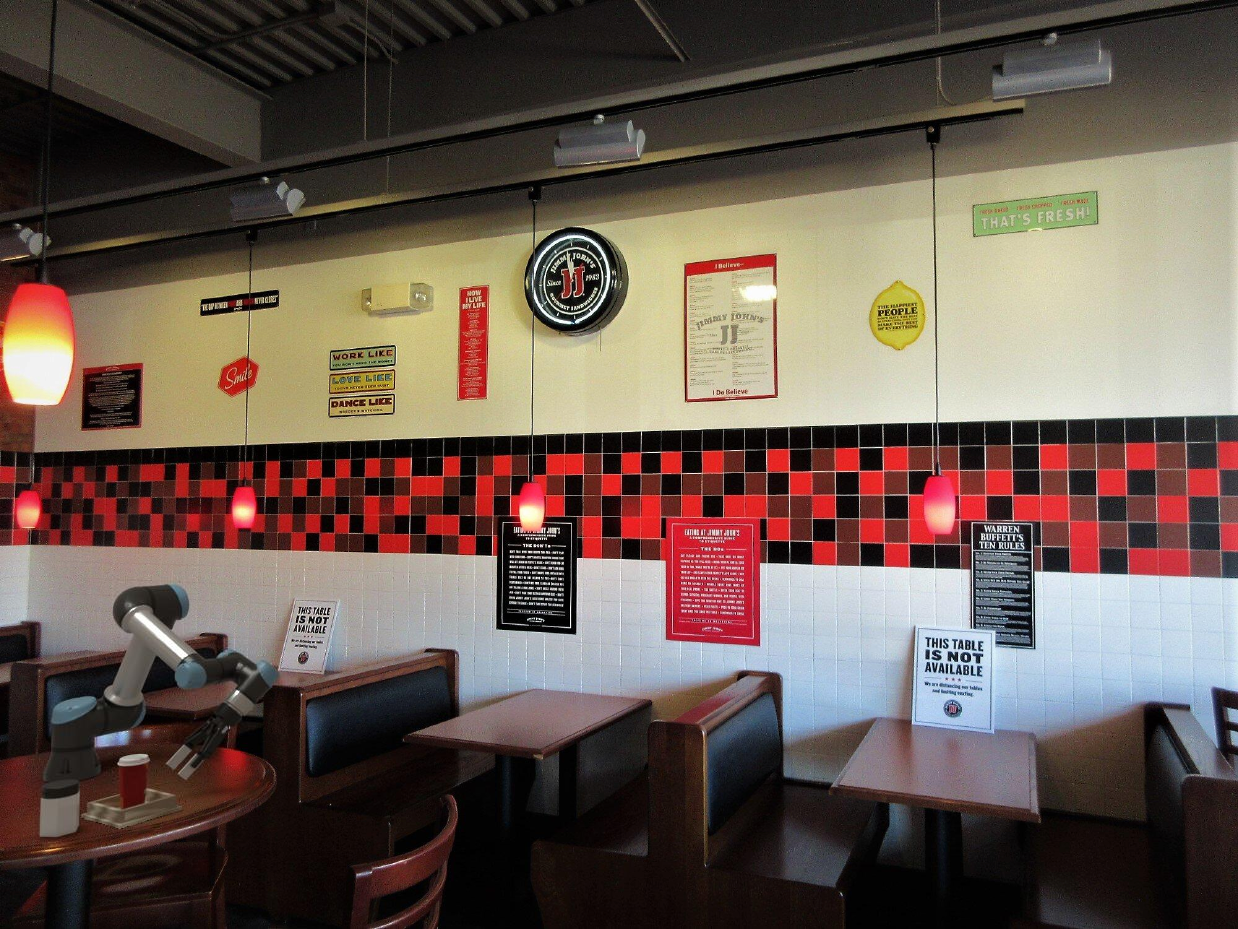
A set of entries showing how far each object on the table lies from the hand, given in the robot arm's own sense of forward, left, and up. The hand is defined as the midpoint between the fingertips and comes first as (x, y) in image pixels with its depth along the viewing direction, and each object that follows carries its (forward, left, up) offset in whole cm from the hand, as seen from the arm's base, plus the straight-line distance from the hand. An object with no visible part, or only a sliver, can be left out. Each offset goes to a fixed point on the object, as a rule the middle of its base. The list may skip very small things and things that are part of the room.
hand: (175, 772), depth 242 cm
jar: (-7, -27, -9) cm, 29 cm away
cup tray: (-4, -10, -9) cm, 14 cm away
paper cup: (-4, -10, -8) cm, 13 cm away
